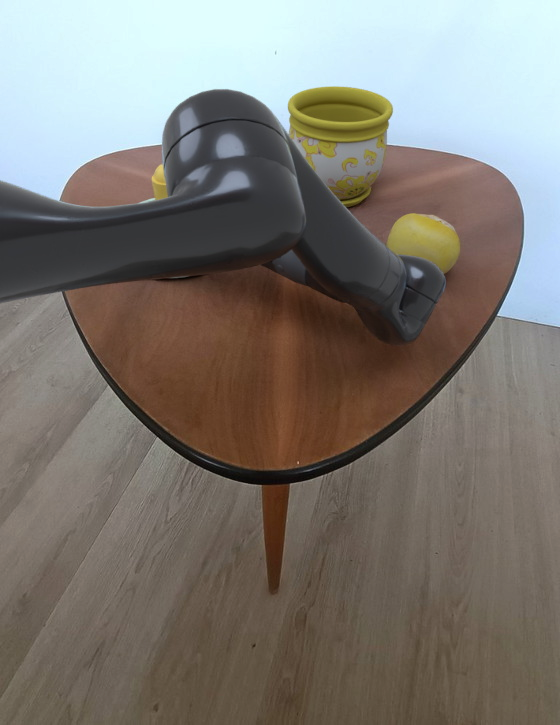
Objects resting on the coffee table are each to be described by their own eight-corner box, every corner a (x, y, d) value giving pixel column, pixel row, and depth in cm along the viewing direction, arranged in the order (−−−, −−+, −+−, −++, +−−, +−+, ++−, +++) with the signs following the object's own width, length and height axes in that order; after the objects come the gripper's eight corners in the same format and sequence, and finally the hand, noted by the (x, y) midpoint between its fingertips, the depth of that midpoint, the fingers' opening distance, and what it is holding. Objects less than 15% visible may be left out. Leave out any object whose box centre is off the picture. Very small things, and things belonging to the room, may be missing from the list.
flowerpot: (269, 183, 108) (269, 94, 97) (345, 164, 115) (354, 80, 103) (316, 225, 97) (323, 131, 86) (399, 202, 103) (415, 112, 92)
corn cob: (160, 255, 88) (146, 172, 78) (163, 239, 92) (151, 156, 82) (191, 255, 88) (182, 171, 79) (193, 238, 92) (184, 156, 82)
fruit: (451, 298, 82) (468, 240, 76) (379, 288, 84) (389, 230, 77) (451, 261, 90) (467, 204, 83) (385, 252, 91) (394, 196, 84)
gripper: (329, 203, 73) (240, 167, 81) (257, 247, 65) (166, 202, 73) (325, 251, 79) (242, 213, 86) (258, 297, 71) (173, 251, 78)
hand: (207, 208), depth 79 cm, fingers open, 8 cm apart
